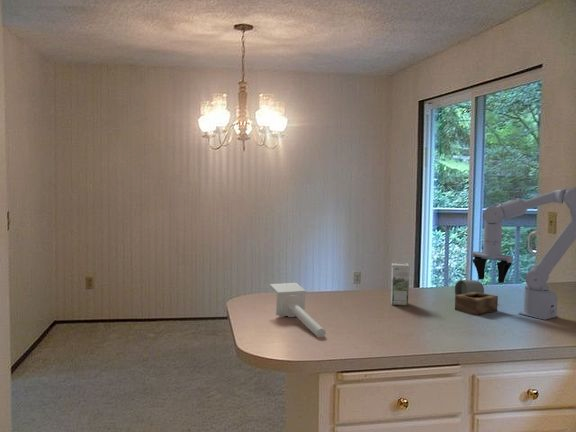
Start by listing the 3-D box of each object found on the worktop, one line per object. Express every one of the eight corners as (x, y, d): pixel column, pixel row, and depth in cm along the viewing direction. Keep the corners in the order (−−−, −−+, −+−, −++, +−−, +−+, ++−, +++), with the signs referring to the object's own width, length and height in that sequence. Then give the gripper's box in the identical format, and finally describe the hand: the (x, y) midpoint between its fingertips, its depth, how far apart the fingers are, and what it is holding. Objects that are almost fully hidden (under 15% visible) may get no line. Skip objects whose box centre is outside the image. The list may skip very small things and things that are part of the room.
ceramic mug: (485, 301, 201) (485, 280, 201) (466, 302, 199) (467, 281, 198) (466, 296, 211) (467, 276, 211) (448, 297, 208) (449, 277, 208)
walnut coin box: (474, 305, 195) (474, 291, 194) (497, 310, 187) (497, 296, 187) (454, 309, 188) (455, 295, 188) (477, 315, 181) (478, 300, 181)
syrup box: (406, 302, 198) (407, 262, 197) (408, 306, 193) (409, 264, 192) (390, 301, 199) (391, 261, 198) (391, 305, 193) (392, 264, 192)
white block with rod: (296, 282, 184) (337, 317, 155) (294, 307, 186) (334, 346, 156) (269, 284, 181) (306, 319, 152) (268, 309, 183) (304, 349, 153)
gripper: (467, 239, 191) (465, 278, 192) (505, 244, 179) (503, 285, 180) (479, 238, 195) (478, 276, 196) (517, 242, 183) (515, 283, 184)
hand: (491, 280), depth 188 cm, fingers open, 7 cm apart
